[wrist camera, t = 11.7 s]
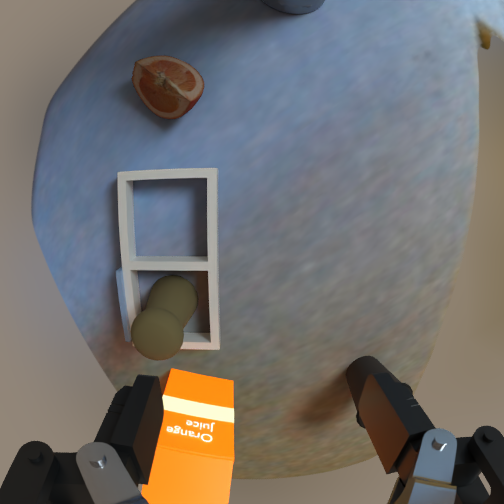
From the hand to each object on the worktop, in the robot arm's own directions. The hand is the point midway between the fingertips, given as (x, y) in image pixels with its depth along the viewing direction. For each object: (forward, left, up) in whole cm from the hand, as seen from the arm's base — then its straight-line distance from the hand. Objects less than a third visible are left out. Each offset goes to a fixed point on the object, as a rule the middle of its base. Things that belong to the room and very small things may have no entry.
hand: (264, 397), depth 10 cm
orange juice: (+21, -7, -26) cm, 34 cm away
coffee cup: (+18, +17, -26) cm, 36 cm away
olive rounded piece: (+6, -9, -26) cm, 28 cm away
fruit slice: (-19, -9, -26) cm, 33 cm away
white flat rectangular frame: (+1, -9, -26) cm, 27 cm away
